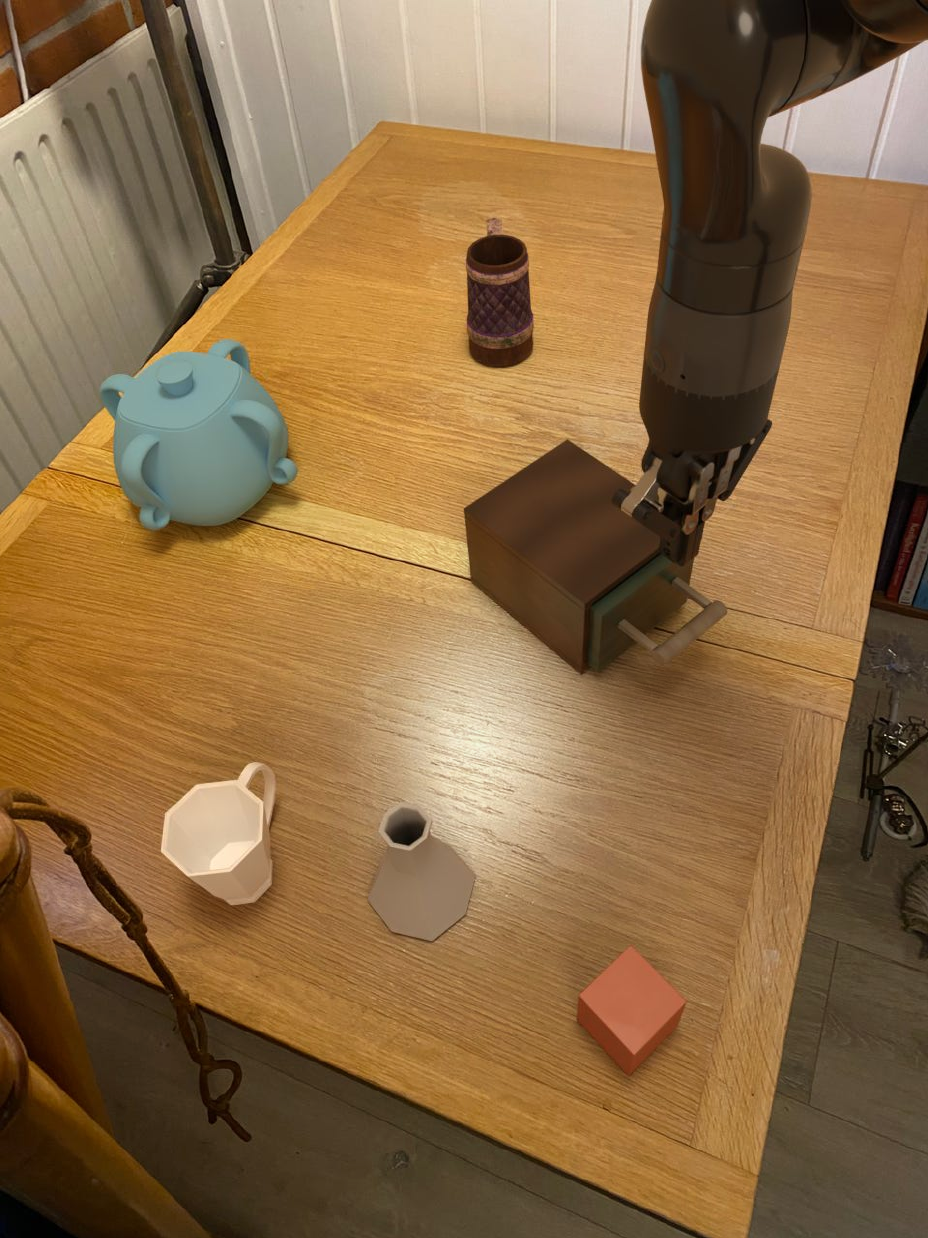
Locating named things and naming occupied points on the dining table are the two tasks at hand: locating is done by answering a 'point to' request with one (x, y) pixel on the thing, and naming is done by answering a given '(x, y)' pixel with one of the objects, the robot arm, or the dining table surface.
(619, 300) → the dining table surface
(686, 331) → the robot arm
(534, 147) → the dining table surface
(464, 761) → the dining table surface
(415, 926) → the flask
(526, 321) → the mug
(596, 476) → the cabinet
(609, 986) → the block
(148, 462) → the decorative pot
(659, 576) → the drawer
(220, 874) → the cup
